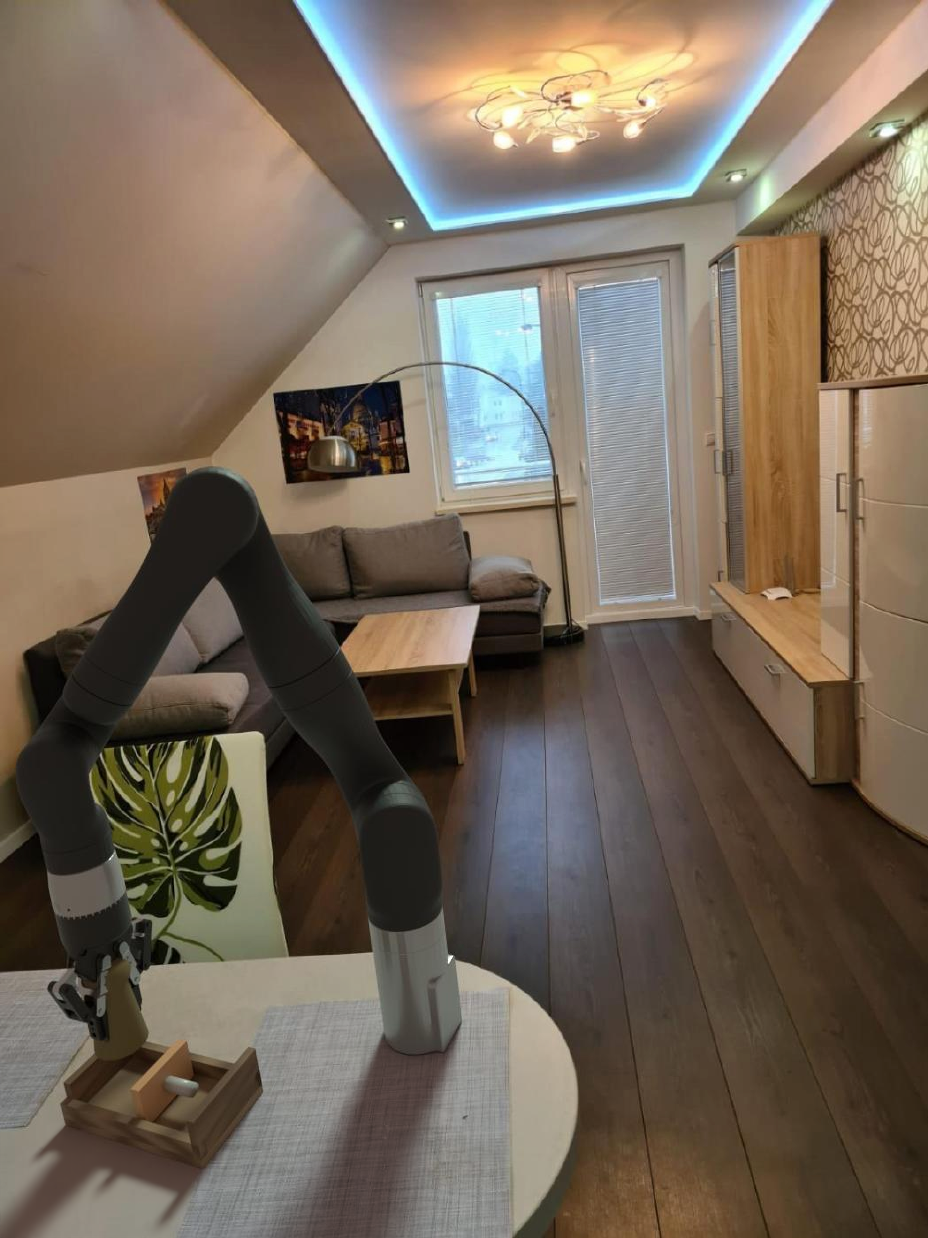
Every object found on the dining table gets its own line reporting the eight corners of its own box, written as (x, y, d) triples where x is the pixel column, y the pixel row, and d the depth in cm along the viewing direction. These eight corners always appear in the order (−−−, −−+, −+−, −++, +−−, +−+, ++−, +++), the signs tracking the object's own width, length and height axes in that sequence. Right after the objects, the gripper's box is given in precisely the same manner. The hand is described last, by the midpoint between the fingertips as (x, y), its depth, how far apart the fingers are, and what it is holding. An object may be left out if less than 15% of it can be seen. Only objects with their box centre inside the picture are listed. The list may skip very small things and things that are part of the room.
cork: (129, 1062, 95) (111, 978, 93) (83, 1058, 96) (63, 975, 94) (158, 1024, 101) (141, 944, 98) (114, 1021, 102) (96, 942, 100)
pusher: (219, 1082, 100) (212, 1047, 99) (173, 1136, 93) (165, 1099, 92) (186, 1073, 102) (178, 1038, 101) (138, 1126, 95) (130, 1089, 94)
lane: (263, 1091, 100) (255, 1048, 99) (203, 1169, 90) (193, 1123, 89) (133, 1056, 108) (124, 1017, 106) (65, 1125, 98) (54, 1082, 96)
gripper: (63, 938, 86) (96, 1077, 90) (159, 866, 99) (185, 991, 103) (11, 927, 89) (45, 1063, 93) (111, 858, 102) (137, 981, 106)
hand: (118, 1024), depth 98 cm, fingers closed on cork, 4 cm apart
